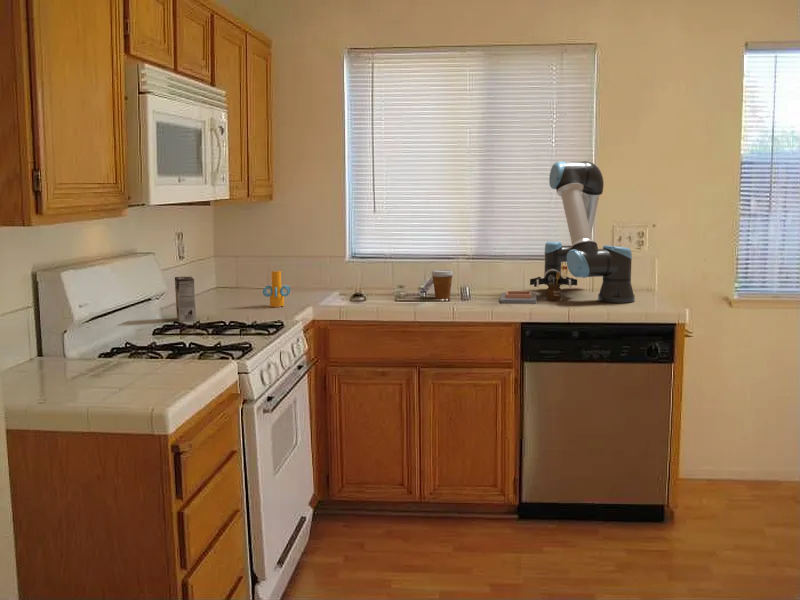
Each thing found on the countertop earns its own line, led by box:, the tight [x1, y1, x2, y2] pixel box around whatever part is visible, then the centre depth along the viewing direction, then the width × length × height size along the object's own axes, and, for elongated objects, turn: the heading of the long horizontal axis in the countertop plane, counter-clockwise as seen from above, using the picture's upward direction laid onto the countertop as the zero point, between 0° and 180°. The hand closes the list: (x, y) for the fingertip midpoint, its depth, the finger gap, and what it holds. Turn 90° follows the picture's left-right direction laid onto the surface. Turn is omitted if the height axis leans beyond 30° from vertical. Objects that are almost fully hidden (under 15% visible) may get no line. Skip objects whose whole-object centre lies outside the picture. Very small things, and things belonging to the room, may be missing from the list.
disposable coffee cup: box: [431, 269, 454, 300], centre depth 384 cm, size 10×10×12 cm
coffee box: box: [174, 276, 197, 322], centre depth 334 cm, size 9×6×16 cm
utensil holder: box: [546, 272, 562, 302], centre depth 373 cm, size 6×6×12 cm
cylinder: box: [262, 269, 291, 308], centre depth 364 cm, size 12×10×15 cm
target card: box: [499, 290, 537, 305], centre depth 376 cm, size 15×22×3 cm
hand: (553, 284), depth 372 cm, fingers open, 13 cm apart
